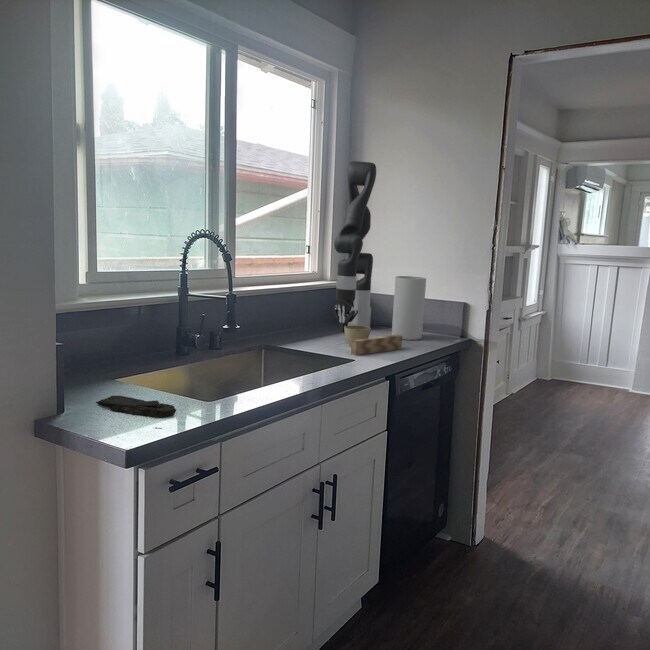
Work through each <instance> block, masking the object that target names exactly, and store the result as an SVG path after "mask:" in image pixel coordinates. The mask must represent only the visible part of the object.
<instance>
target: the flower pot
mask: <svg viewBox="0 0 650 650" xmlns="http://www.w3.org/2000/svg"><path fill="white" fill-rule="evenodd" d="M371 329H372V328H371V326H370V327H365V326H354V325H351V326H345V327H344V330H345V333H344V335H345V338H346V341H347V343H348V345H349V347H351V344H352V340H358V339H366V338H370V337H369V336H370V334H371V331H372V330H371Z"/></svg>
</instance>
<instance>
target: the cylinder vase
mask: <svg viewBox="0 0 650 650" xmlns="http://www.w3.org/2000/svg"><path fill="white" fill-rule="evenodd" d="M394 280H395V281H394V294H393V295H394V296H393V310H392V324H391V335H401V336H402V341H403V340H404V341H417V340H421V339H422V337H423V327H424V314H425V300H426V284H427V278H426V277H421V276H412V275H407V276H406V275H397V276H395V279H394Z"/></svg>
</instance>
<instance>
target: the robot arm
mask: <svg viewBox="0 0 650 650" xmlns="http://www.w3.org/2000/svg"><path fill="white" fill-rule="evenodd" d="M346 176H347V189H348V190H347V191H348V193H347V194H348V207H347V209H346V210H345V215H344V220H343V224H342V226H341V228H340V229H339V231H338V233H337V236H335V239H334V245H333V246H334V249H335V251H336V252H337V253H339V254H347V259H340V260H339V261H338V263H337V264H338V265H337V278H336V286H335V288H336V289H335V300H337V301H336V304H335V305H334V306H333V305H332V307H331V310H332V311H333V314H334V316H335V319H336V320H337V321H339V323H340V325H339V330H340V333H342V334H345V330H344V327H345V326H351V325H354V326H365V327H370V328H371V319H372V317H371V316H372V307H371V290H372V288H371V287H372V277H373V276H372V273H373V266H374V256H373V254H372V253H369V252H362V251H363V250H362V249H363V244H364V241H363V240H364V239H365V237H366V236H367V235H368V233H369V231H370V230H371V224H372V223H371V218H372V216H371V215H372V214H371V211H370V208H369V207H368V203H369V201H370V197H371V195H372V191H373V190H374V189H373V188H374V187H375V185H374V184H376V183H375V182H376V178H377V166H376V164H375V163H374V162H370V161H358V160H353V161H352V160H351V161H349V163H348V166H347V175H346ZM358 186H362V187H363V189H362V190H361V192H359V187H358ZM357 275H363V277H362V278H360V279H357Z"/></svg>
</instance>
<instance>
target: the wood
mask: <svg viewBox="0 0 650 650" xmlns="http://www.w3.org/2000/svg"><path fill="white" fill-rule="evenodd" d="M95 403H97V404H98V405H100V406H102V407H106V408H109V409H110V411H112V412H116V413H118V414H124V415H125V414H126V415H132V416H142V417H143V416H144V417H149V418H154V419H164V418H170V417H173V416H175V414H176V412H177V409H176V408H175V406H174V405H173V404H168V403H163V402H162V403H161V402H159V400H144V399H140V398H139V399H138V398H135V397H129V396H124V395H111V396H109V397H106V398H103V399H100V400H98V401H95Z"/></svg>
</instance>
